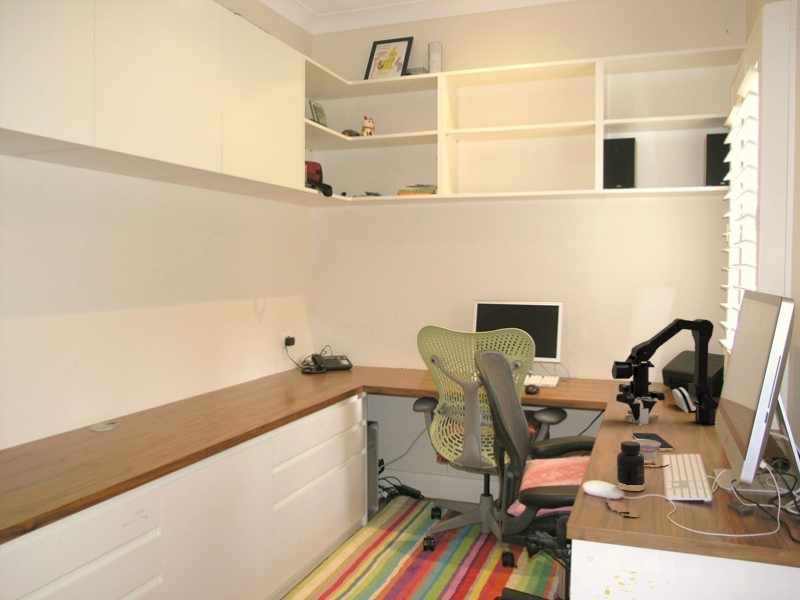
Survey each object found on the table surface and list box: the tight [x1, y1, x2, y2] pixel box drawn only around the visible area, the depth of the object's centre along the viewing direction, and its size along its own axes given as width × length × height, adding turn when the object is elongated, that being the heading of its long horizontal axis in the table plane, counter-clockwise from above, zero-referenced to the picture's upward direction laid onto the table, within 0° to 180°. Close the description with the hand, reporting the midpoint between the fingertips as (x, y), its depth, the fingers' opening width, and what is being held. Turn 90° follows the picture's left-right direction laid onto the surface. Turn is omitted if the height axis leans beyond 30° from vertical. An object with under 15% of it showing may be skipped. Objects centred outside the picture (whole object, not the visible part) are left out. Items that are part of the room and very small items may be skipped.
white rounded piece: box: [671, 387, 696, 414], centre depth 271 cm, size 17×5×10 cm, turn 168°
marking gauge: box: [627, 406, 649, 425], centre depth 246 cm, size 8×4×6 cm, turn 21°
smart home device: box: [632, 432, 674, 449], centre depth 214 cm, size 8×2×20 cm
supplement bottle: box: [616, 440, 646, 485], centre depth 168 cm, size 7×7×12 cm
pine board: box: [624, 412, 659, 423], centre depth 249 cm, size 4×13×2 cm, turn 111°
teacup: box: [632, 438, 661, 460], centre depth 192 cm, size 12×12×6 cm
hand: (640, 419), depth 244 cm, fingers closed on marking gauge, 4 cm apart
